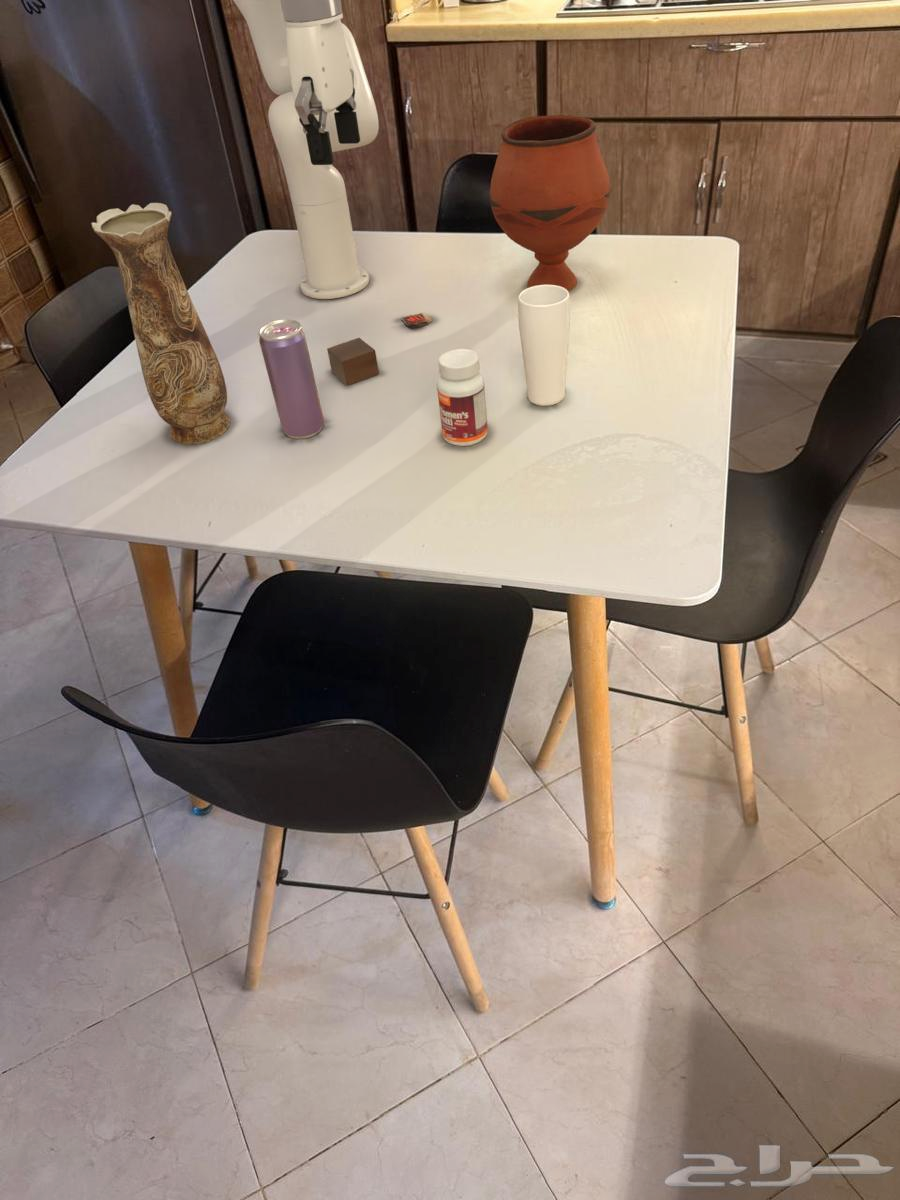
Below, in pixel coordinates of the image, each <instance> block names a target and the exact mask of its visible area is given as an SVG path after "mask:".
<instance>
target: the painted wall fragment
mask: <svg viewBox="0 0 900 1200" xmlns="http://www.w3.org/2000/svg"><path fill="white" fill-rule="evenodd" d="M399 320H402V321H403V322H404V323H405V324H404V326H407V327H408V328H410V329H412V328H414V329H415V328H419V327H422V326H425V325H428V324H430V322H432V321H433V317H431V316H430V315H425V314H424V312H418V313H414V314H408V315H405V316H402V317H401V318H400V319H399Z"/></svg>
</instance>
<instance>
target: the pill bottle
mask: <svg viewBox="0 0 900 1200" xmlns="http://www.w3.org/2000/svg"><path fill="white" fill-rule="evenodd" d="M438 371H439V377H438V378H437V381H436V391H437V397H438V407H439V415H440V417H439V418H440V423H441V424H440V426H441V433H442V437H443V439H444V440H445V441H446V442H447V443H448V444H451V445H452V446H457V447H467V446H472V445H476V444H477V443H480V442H481V441H483V440H484V439H485V438H486V436H487V435H488V415H487V402H486V389H485V388H486V386H485V379H484V376H483V374H482V372H480V371H481V365H480V357H479V354H478V353H477V351H474V350H472V349H468V348H457V349H452V350H451V349H450V350H448V351H445V352H444V353H442V354H441V355H440V356H439V358H438Z"/></svg>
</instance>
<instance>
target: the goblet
mask: <svg viewBox="0 0 900 1200" xmlns="http://www.w3.org/2000/svg"><path fill="white" fill-rule="evenodd" d="M596 129H597V124H596V123H595V121H594V120H593V119H590V118H588V117H584V116H578V115H572V114H569V115H565V114H551V115H550V114H549V115H536V116H535V115H534V116H527V117H524V118H521V119H518V120H516V121H512V123H510V124H509V125H507V126H506V127H504V129H503V130H502V132H501V139H502V141H501V144H500V147H499V151H498V154H497V157H496V160H495V164H494V168H493V171H492V175H491V179H490V188H489V201H490V207H491V211H492V214H493V216H494V219H495V221H496V222H497V224H498V225H499V227H500V228H501V230H502V231H503V232H504V234H505V235H506V236H507V238H509V239H510V240H511V241H513V243H515V244H517V245H519V246H520V247H522V248H524V249H526V250H528V251H530V252H532V253H534V259H535V260H536V261H537V262H538V264H537V266H536V268H535V269H534V270H533V271H532V273H531V274H530V276H529V277H528V280H527V283H526V289H527V288H530V287H533V286H537V285H557V286H560V287H563V288H565V289H566V290H567V291H568V292H570V291H572V290H573V289H574V288H575V287H576V286H577V285H578V283H579V281H578V279H577V277H576V275H575V273H574V271H572V269H571V268H570V267H569V266H568V265H567V263H566V260H567V258H568V257H569V255H570V253H569V251H570V250H573V249H574V248H576V247H577V246H579V245H581V243H582V242H583V241H585V240H586V239H587V238H588V237H589V236H590V235H591V234H592V233H593V232H594V230H596V228H597V227H598V225H599V224H600V223H601V221H602V220H603V218H604V215H605V213H606V211H607V210H608V209H607V208H608V206H609V201H610V195H611V194H610V193H611V192H610V191H611V184H610V182H611V181H610V177H609V172H608V169H607V166H606V163H605V161H604V158H603V155H602V152H601V149H600V146H599V142H598V138H597V134H596Z"/></svg>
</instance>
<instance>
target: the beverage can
mask: <svg viewBox="0 0 900 1200" xmlns="http://www.w3.org/2000/svg"><path fill="white" fill-rule="evenodd" d="M258 335H259V338H258V341H259V342H258V343H259V346H260V350H261V354H262V358H263V361H264V366H265V370H266V372H267V377H268V381H269V384H270V388H271V392H272V396H273V400H274V404H275V407H276V412H277V416H278V419H279V423H280V427H281V430H282V432H283V433H284V434H285V435H286V436H287V437H289V438H291V439H295V440H302V439H303V440H305V439H309V438H311V437H315V436H316V435H318V434H319V433H320V432H321V431H322V429H323V427H324V425H325V419H324V415H323V410H322V406H321V405H322V404H321V401H320V396H319V392H318V388H317V387H318V386H317V383H316V378H315V374H314V369H313V365H312V361H311V356H310V351H309V347H308V343H307V338H306V333H305V331H304V329H303V327H302V324H301V323H300V322H299V321H297V320H295V319H287V318H286V319H277V320H274V321H270V322H268V323H265V324H264V325H263V326H261V327H260V328H259V329H258Z"/></svg>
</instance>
